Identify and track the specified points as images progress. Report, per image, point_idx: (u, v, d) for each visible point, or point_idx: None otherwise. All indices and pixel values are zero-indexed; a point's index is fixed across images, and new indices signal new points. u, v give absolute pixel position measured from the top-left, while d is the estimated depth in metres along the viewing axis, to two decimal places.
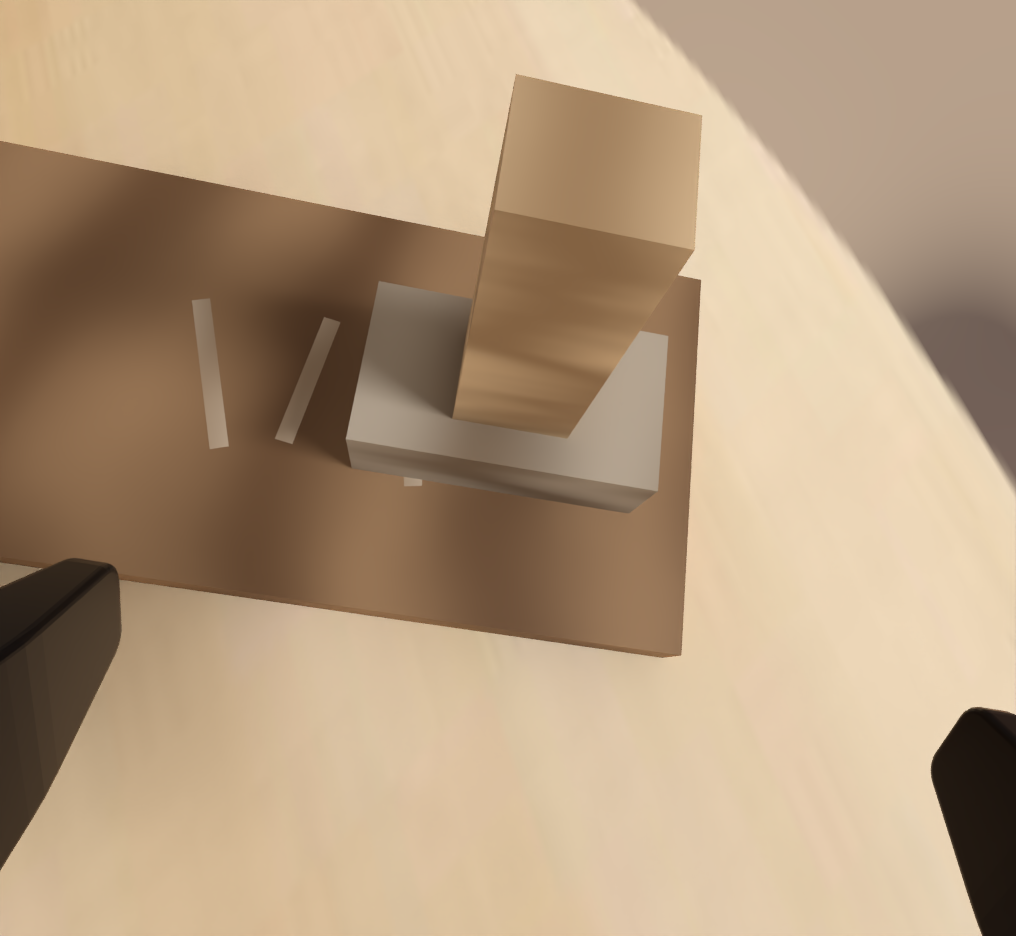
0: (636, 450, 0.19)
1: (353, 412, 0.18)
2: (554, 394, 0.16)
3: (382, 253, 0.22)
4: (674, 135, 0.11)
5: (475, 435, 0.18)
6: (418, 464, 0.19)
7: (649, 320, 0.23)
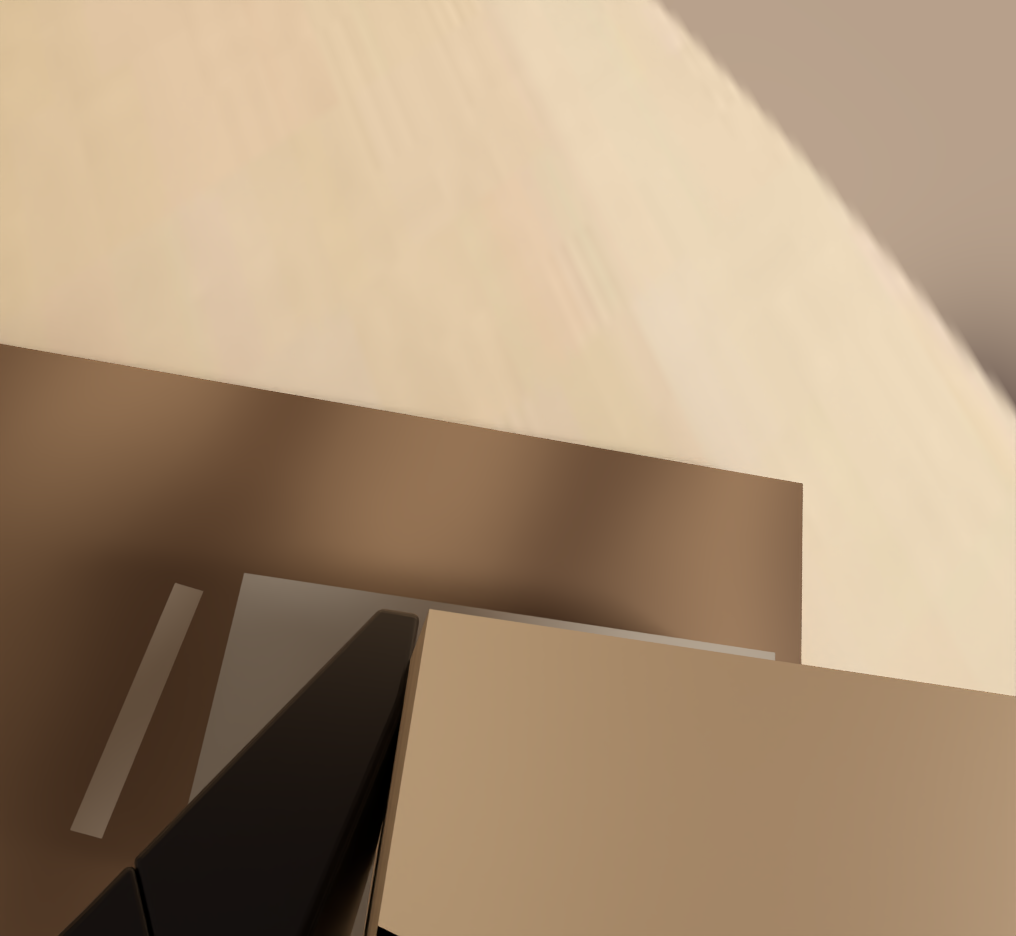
0: None
1: None
2: None
3: (281, 459, 0.13)
4: None
5: None
6: None
7: (723, 559, 0.14)
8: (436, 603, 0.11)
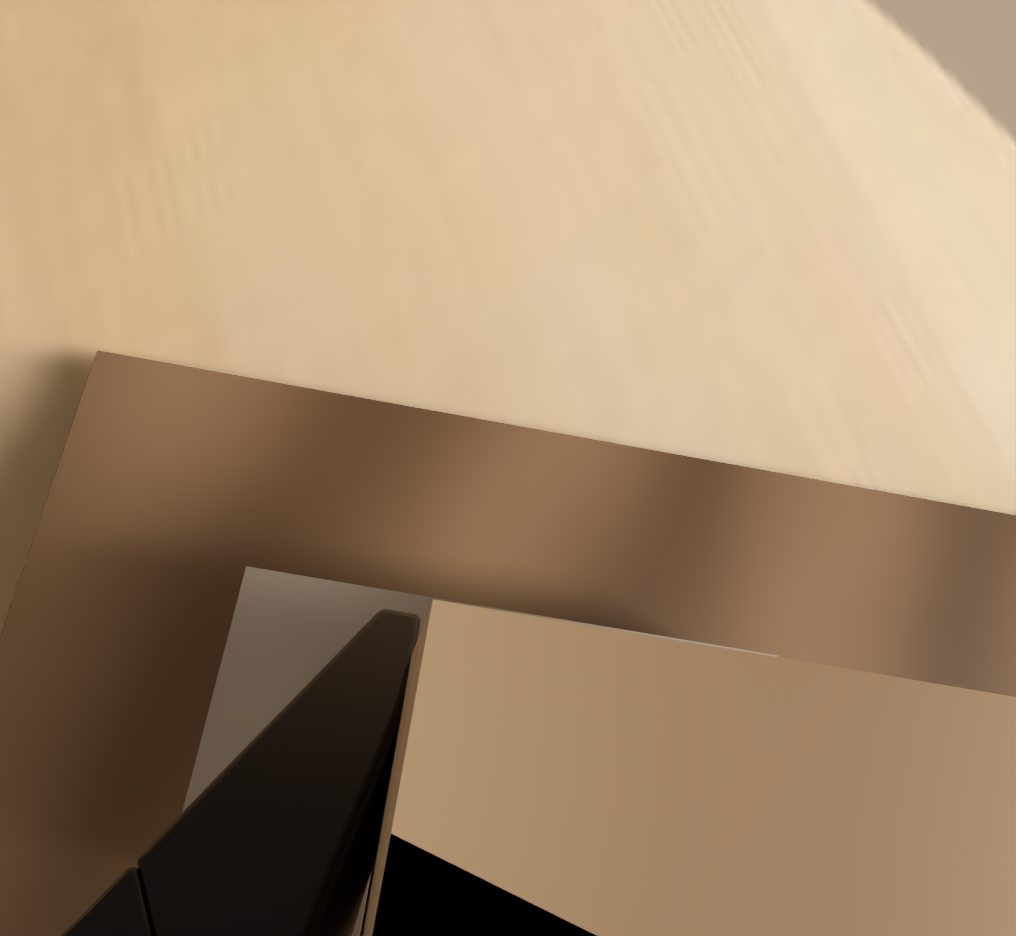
0: None
1: None
2: None
3: (702, 522, 0.14)
4: None
5: None
6: None
7: None
8: (438, 600, 0.11)
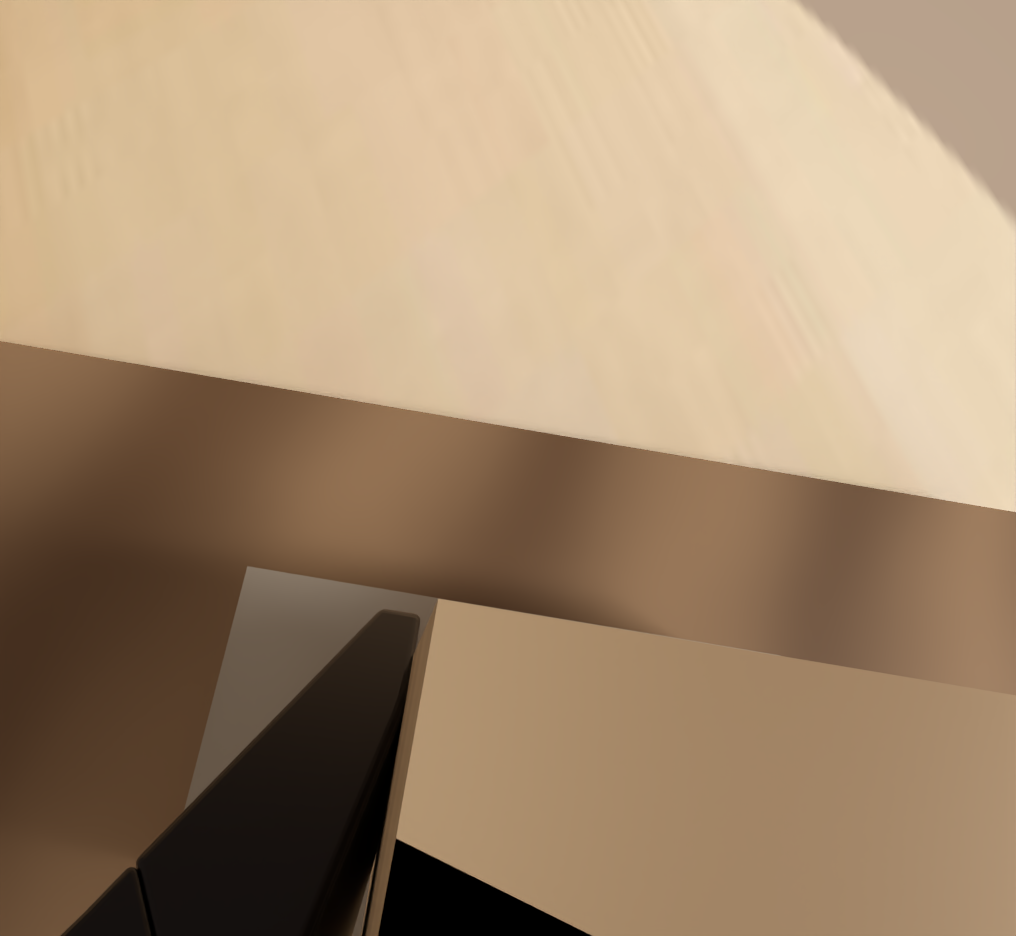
0: None
1: None
2: None
3: (561, 500, 0.14)
4: None
5: None
6: None
7: (973, 591, 0.15)
8: None
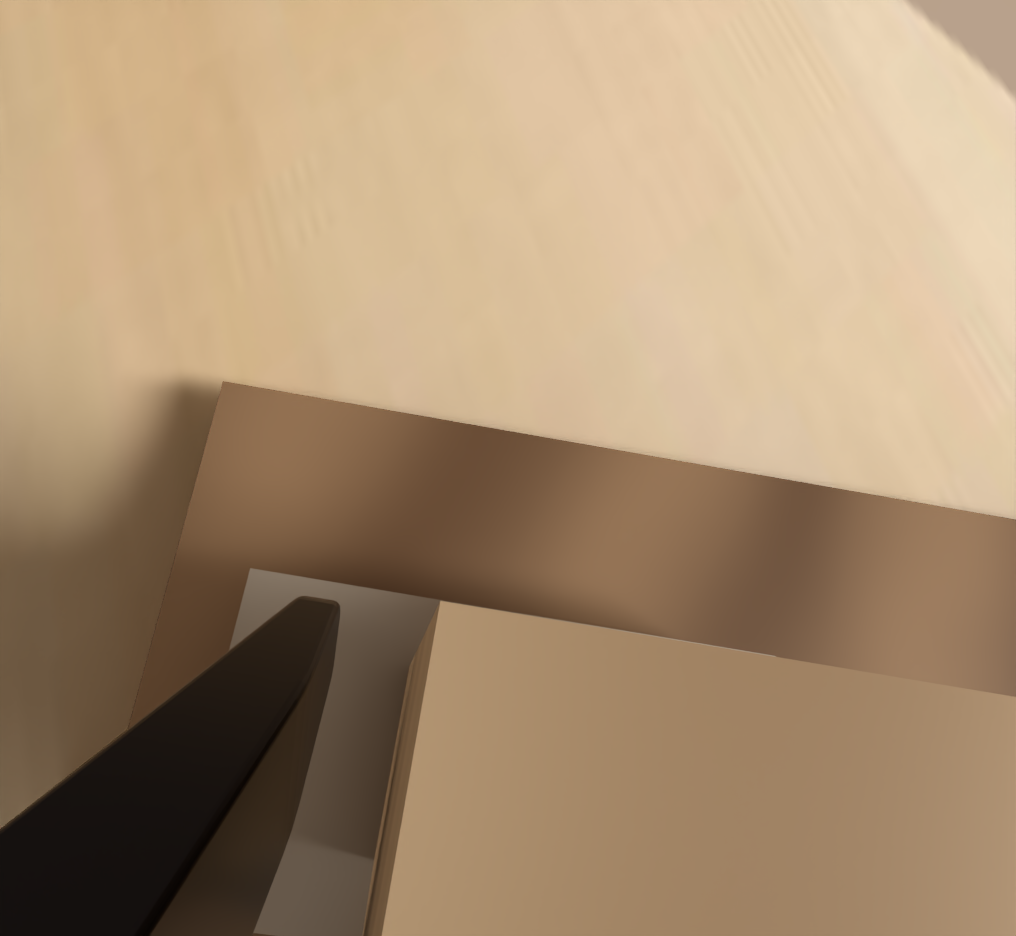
0: None
1: None
2: None
3: (809, 545, 0.15)
4: None
5: None
6: None
7: None
8: (440, 601, 0.11)
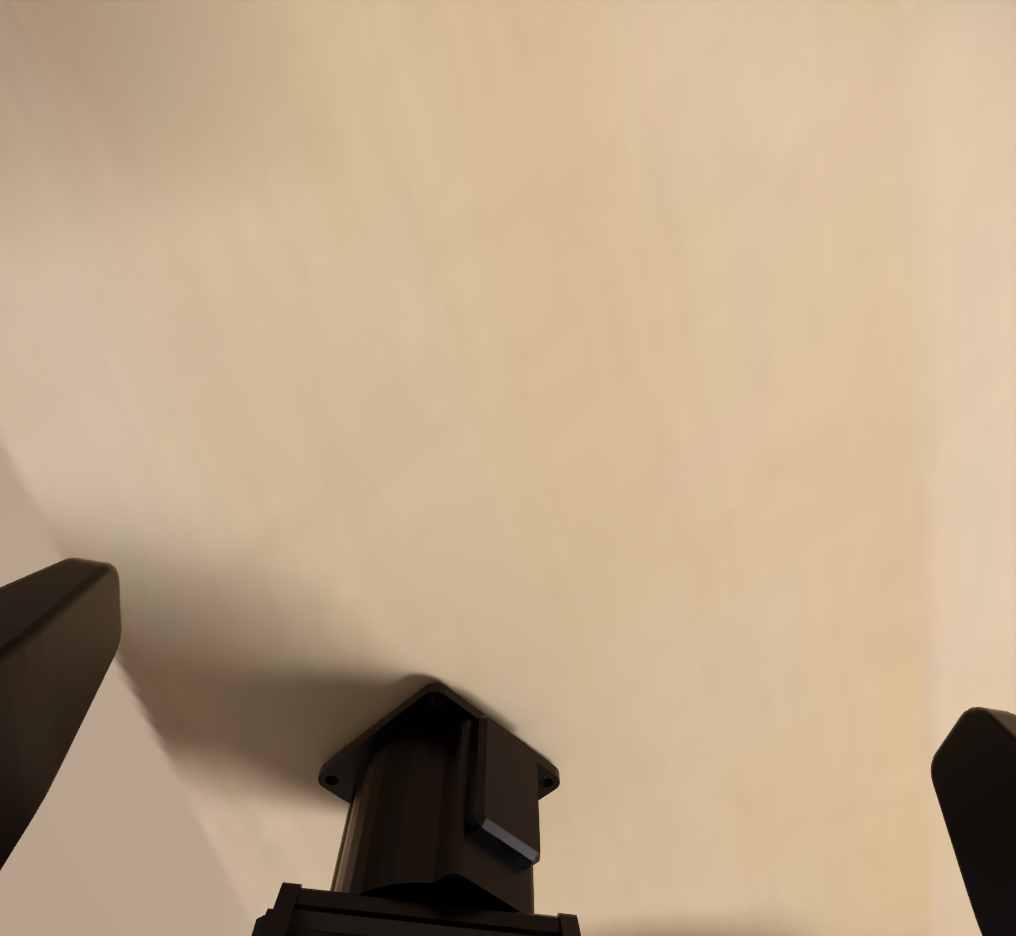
0: None
1: None
2: None
3: None
4: None
5: None
6: None
7: None
8: None
